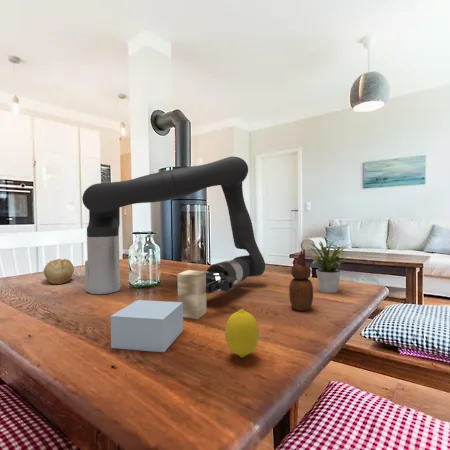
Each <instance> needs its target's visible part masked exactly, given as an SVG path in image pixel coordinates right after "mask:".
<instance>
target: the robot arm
mask: <svg viewBox="0 0 450 450" xmlns="http://www.w3.org/2000/svg"><path fill="white" fill-rule="evenodd" d="M248 165H249V164H248V163H247V162H246V161H245V160H244V159H243V158H241V157H238V156H228V157H225V158H221V159H218V160H216V161H211V162H209V163H206V164H200V165H192V166H186V167H185V166H184V167H179V168H173V169H172V168H171V169H168V170H163V171H159V172H154V173H149V174H147V175H143V176H139V177H135V178H132V179H127V180H121V181H112V182H100V183H99V182H98V183H93V184H91V185H89V186H88V187H87V188H86V189H85V191H83V195H82V204H83V205H84V207H85V209H87V210H88V212H89V213H88V223H87V224H88V225H87V228H86V246H87V247H86V249H87V252H86V253H87V255H86V256H87V260H85V262H84V273H85V275H84V278H85V292H87V293H89V294H91V295H107V294H112V293H116V292H119V291H120V290H121V280H120V279H121V277H120V276H121V275H120V274H121V273H120V271H121V270H120V269H121V267H120V238H119V237H120V233H119V231H120V225H121V223H120V222H121V220H120V219H121V218H120V217H121V216H120V211H121V209H120V208H123V207H126V206H127V207H128V206H130V205H136V204H147V203H149V204H150V203H158V202H160V203H161V202H165V201H170V200H171V201H172V200H176V199H180V198H184V197H186V196H189V195H191V194H194V193H196V192H199V191H201V190H205V189H207V188H210V187H216V186H218V187H219V186H220V187H221V190H222V193H223V195H224V198H225V202H226V206H227V209H228V210H227V211H228V216H229V222H230V228H231V232H232V239H233V243H234V247H235V248H236V249H238V250H243V251H244V250H245V251H246V252H247V253H248V255H241V256H240V255H239V256H237V257H234V258H233V259H231V260H224V261H220V262H217V263H214V264H211V265H210V266H209V267H208V268H207V270H206V294H212V293H214V292H229V291H231V290H233V289H235V288H236V287H237V286H238V283H240V282H243V281H244V280H246V279H247V278H248V277H259V276H262V275H263V274H264V272H265V270H266V261H265V259H264V257H263V255H262V253H261V251H260V248H259V246H258V244H257V241H256V237H255V231H254V226H253V223H252V219H251V216H250V213H249V211H248V208H247V205H246V202H245V198H244V191H243V189H244V188H243V183H244V181H245V180H246V178H247V176H248V173H249V166H248ZM175 285H176V290H178V279H177V280H176V282H175Z"/></svg>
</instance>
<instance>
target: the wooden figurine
mask: <svg viewBox="0 0 450 450" xmlns="http://www.w3.org/2000/svg"><path fill="white" fill-rule="evenodd" d="M305 249H306V248H305ZM305 249H304V248H303V250H300V254H298V256H297V259H296V263H294V264H293V265H292V266H291V273H290V274H291V276H292V277H293V278H292V279H291V280H290V283H289V287H288V296H289V301H290V304H291V307H292V308H293V309H294V310H296V311H301V312H305V311H308V310H310V309H311V307H312V305H313V301H314V300H313V299H314V285H313V282H312V281H311V280H310V276H311V274H312V273H311V272H312V270H311V267H310V265H309V264H308V263H306V251H305Z"/></svg>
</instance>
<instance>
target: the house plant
mask: <svg viewBox="0 0 450 450" xmlns="http://www.w3.org/2000/svg"><path fill="white" fill-rule="evenodd" d="M332 238H333V237H331V239H330V240H329V243H328V247H327V246H324V243H323V242H322V241H321V240H319V241H318V244H319V246H320V249H319V248H318V247H317V246H316V245H315V244H314V243H313V242H310V241H309V245H311V246H312V247H313V248H312V247H309V246H307V247H306V248H307V249H310V250H312V251H313V252H314V253H315V255H316V256H313V257H310V259H311V260H313V261H312V264H311V265H313V264H315V263H316V264H317V265H318V266H319V267H320V268H317V269H316V270H315V272H316V277H317V284H318V290H319V292H322V293H326V294H335V293H337V292H338V289H339V284H340V278H341V273H342V272H341V269H337V268H338V267H340V265H341V264H342V263H344V262H348V261H347V260H345V259H346V257H340V256H339V255H340V253H341V252H342V251H343V250H344V249H345V248H347V247H348V246H350V245H351V243H349V244H347V245H342V246H339V247H338V246H337V243H336V244H335V245H334V248H333V249H332V250H333V251H332V253H331V255H330V249H331V246H332V244H333V243H334V241H332ZM331 241H332V242H331ZM305 242H307V243H308V241H306V240H305ZM337 247H338V248H337ZM306 248H305V249H306ZM314 248H315V250H314ZM321 251H322V252H321ZM317 252H318V253H317ZM318 254H319V255H320V256H319V255H318ZM321 259H322V260H321ZM341 260H343V261H341ZM336 264H337V265H336Z"/></svg>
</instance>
